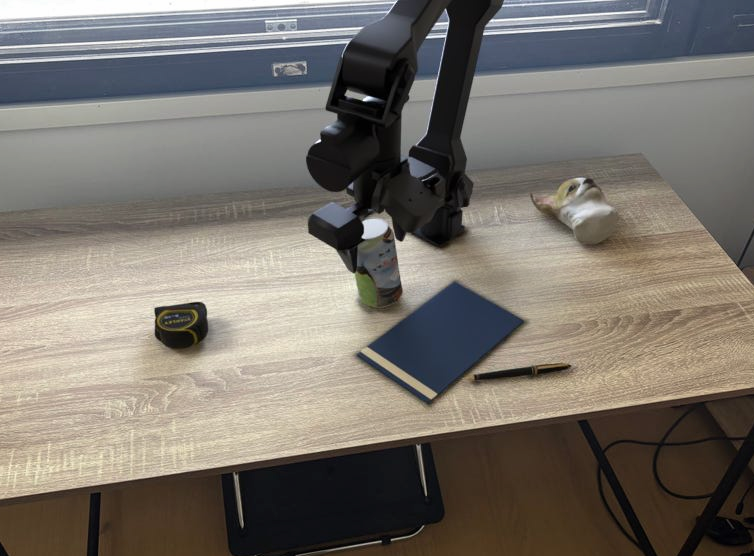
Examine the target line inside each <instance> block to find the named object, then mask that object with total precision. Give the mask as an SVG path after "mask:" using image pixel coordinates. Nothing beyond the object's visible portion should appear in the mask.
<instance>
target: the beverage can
mask: <svg viewBox="0 0 754 556" xmlns="http://www.w3.org/2000/svg"><path fill="white" fill-rule="evenodd" d="M362 223H363V225H364V234H363V236H362V238H364V239H365V241H364V242H362V243H361V244H359V245H358V257H357V269H356V272H355V273H354V277H355V282H356V287H357V293H358V298H359V300H360V302H361V303H363V304H364V305H365V306H367V307H372V308H378V309H379V308H380V309H381V308H386V307H389V306H391V305H393V304H394V303H396V302H397V301H399V300H400V299H401V297H402V295H403V286H402V278H401V272H400V265H399V260H398V251H397V246H396V238H395V234H394V230H393V228H391V227H390V226H389V224H388V222H387V221H386V220H384V219H382V218H379V217H369V218H368V219H366V220H365V221H363V222H362Z"/></svg>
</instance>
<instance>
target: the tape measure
mask: <svg viewBox="0 0 754 556" xmlns="http://www.w3.org/2000/svg"><path fill="white" fill-rule="evenodd" d="M153 310H154V312H153V313H154V316H155V318H154V334H153V335H154V337H155V339H156V340H157V341H159V342H160V343H161V344H162V345H163V346H164V347H166V348H168V349H173V350H183V349H189V348H191V347H194V346H197V345H199V344H200V343H201V342H203V341H204V340H205V338H206V337H207V336H208V332H209V322H208V309H207V306H206V304H205V303H204V302H202V301H192V302H191V301H190V302H186V303H178V304H171V305H162V306H156V307H154V309H153Z"/></svg>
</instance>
